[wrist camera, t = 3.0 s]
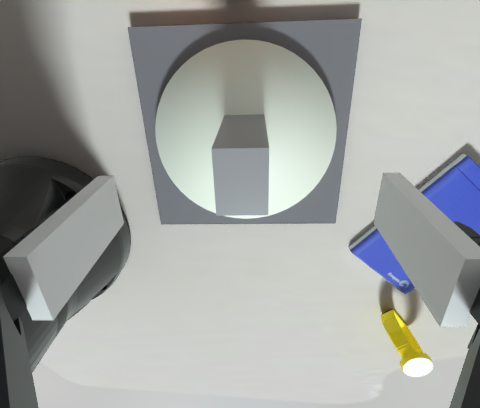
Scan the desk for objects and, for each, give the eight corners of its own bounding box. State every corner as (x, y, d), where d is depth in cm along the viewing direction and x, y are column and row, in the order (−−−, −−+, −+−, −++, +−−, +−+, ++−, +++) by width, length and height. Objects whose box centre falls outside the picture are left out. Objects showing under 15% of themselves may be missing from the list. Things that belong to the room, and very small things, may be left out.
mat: (333, 218, 29) (335, 223, 28) (163, 219, 30) (161, 224, 29) (358, 19, 22) (361, 18, 21) (131, 27, 23) (127, 27, 22)
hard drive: (406, 296, 32) (525, 215, 27) (351, 253, 30) (470, 157, 25) (399, 285, 33) (512, 206, 28) (346, 243, 31) (459, 151, 26)
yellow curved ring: (369, 308, 35) (387, 353, 29) (392, 296, 34) (415, 341, 28) (396, 341, 36) (418, 390, 31) (419, 331, 35) (446, 380, 30)
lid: (325, 213, 28) (353, 282, 20) (170, 214, 29) (138, 281, 21) (344, 36, 22) (398, 33, 14) (144, 42, 22) (83, 44, 14)
